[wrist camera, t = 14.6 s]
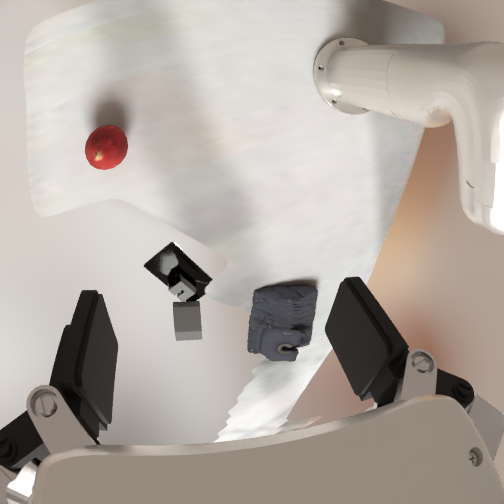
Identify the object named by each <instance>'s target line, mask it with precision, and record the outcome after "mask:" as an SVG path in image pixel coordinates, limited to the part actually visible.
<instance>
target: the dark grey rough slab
mask: <svg viewBox="0 0 504 504" xmlns="http://www.w3.org/2000/svg"><path fill="white" fill-rule="evenodd" d="M317 293H318V291H317V289H316V288H315V287H314V286H296V287H295V286H292V287H284V286H277V287H265V288H262V289H260V290H258V291H254V296H253V306H252V310H251V315H250V319H249V330H248V340H247V342H248V345H247V350H248V352H250V353H254V354H258V353H261V354H263V355H264V356H266V358H268V359H269V360H270V361H290V362H291V361H295V360H296V357H297V354H298V349H297V348H299V347H303V346H306V345H309V343H310V341H311V335H312V325H313V324H312V322H313V320H314V317H315V309H316V308H315V307H316V300H317V295H318V294H317ZM296 347H297V348H296Z"/></svg>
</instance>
